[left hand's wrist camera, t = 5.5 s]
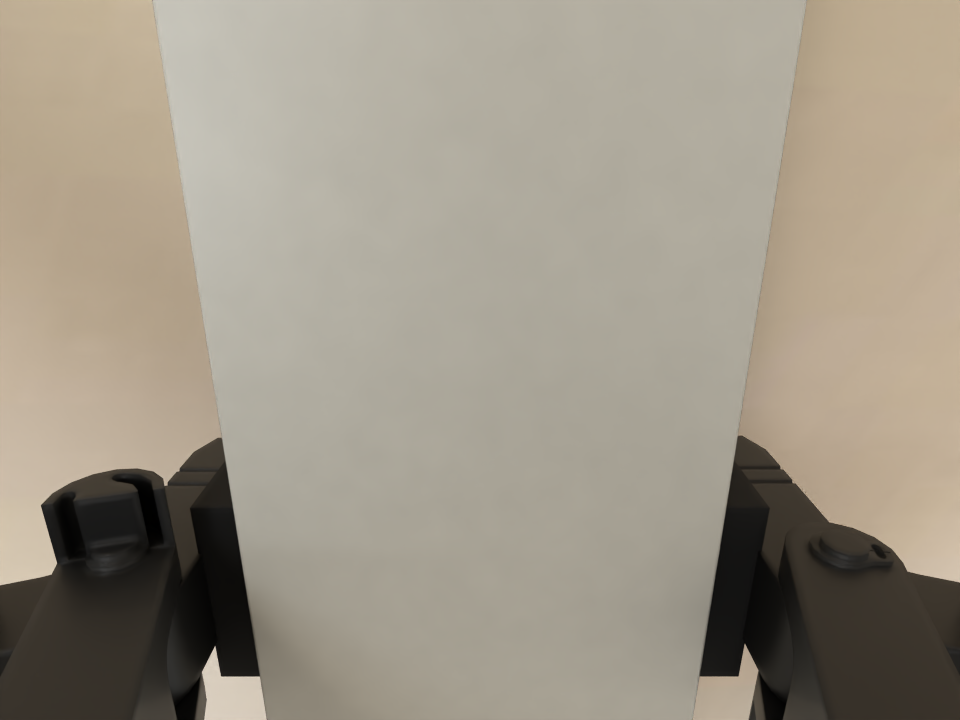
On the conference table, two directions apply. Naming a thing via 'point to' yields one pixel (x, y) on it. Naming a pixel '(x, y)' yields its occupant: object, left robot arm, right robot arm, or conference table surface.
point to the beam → (479, 334)
